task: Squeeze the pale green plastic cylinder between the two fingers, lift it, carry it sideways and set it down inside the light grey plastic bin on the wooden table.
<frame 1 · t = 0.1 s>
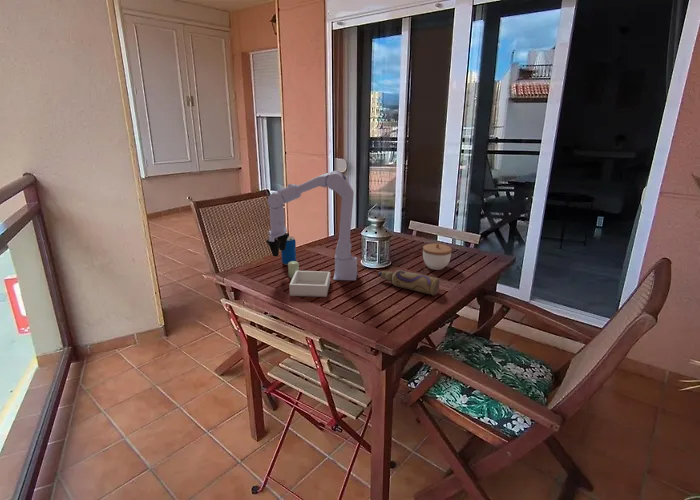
hand: (279, 253, 167), 10 cm above the table, tool pointing down, fingers open, 7 cm apart
bin: (310, 288, 157), on the table
lidded bowl: (435, 267, 181), on the table
green cylinder: (293, 276, 169), on the table
beverage can: (289, 263, 183), on the table
decorative bottle: (409, 287, 160), on the table
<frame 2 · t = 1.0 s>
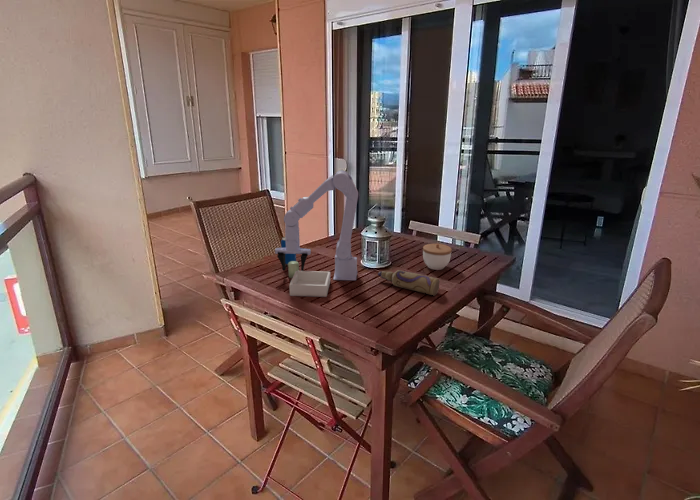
hand: (293, 269, 168), 3 cm above the table, tool pointing down, fingers open, 7 cm apart
nothing on the table moved.
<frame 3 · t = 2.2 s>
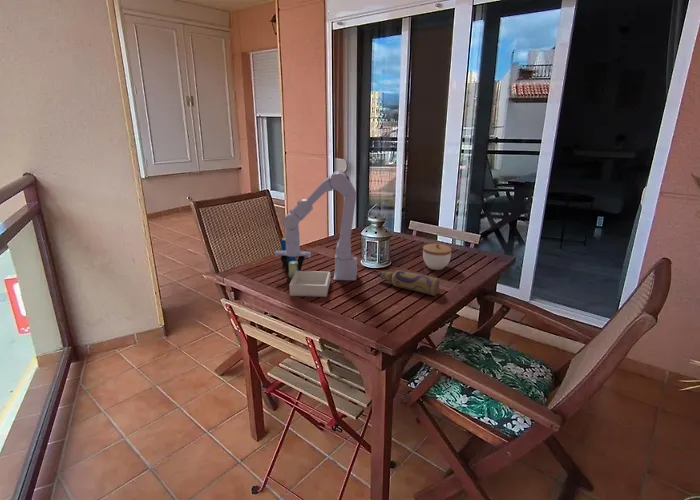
hand: (293, 272, 168), 2 cm above the table, tool pointing down, fingers closed on green cylinder, 4 cm apart
green cylinder: (293, 276, 169), on the table, touching gripper
everything else where it was.
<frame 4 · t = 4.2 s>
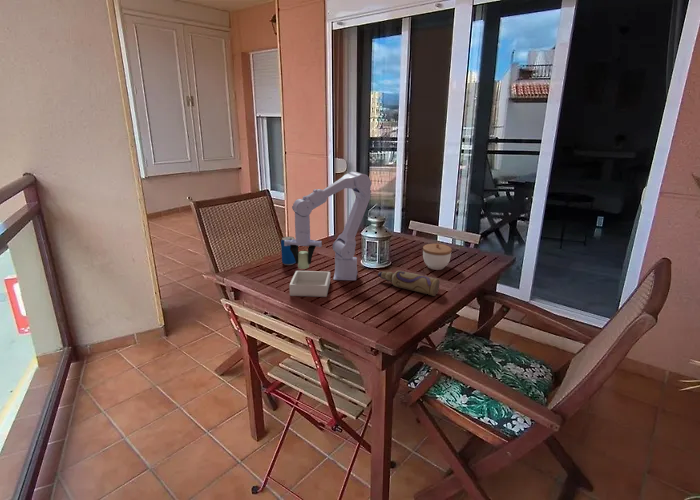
hand: (303, 263, 159), 9 cm above the table, tool pointing down, fingers closed on green cylinder, 4 cm apart
green cylinder: (303, 266, 159), point 7 cm above the table, touching gripper
everything else where it was.
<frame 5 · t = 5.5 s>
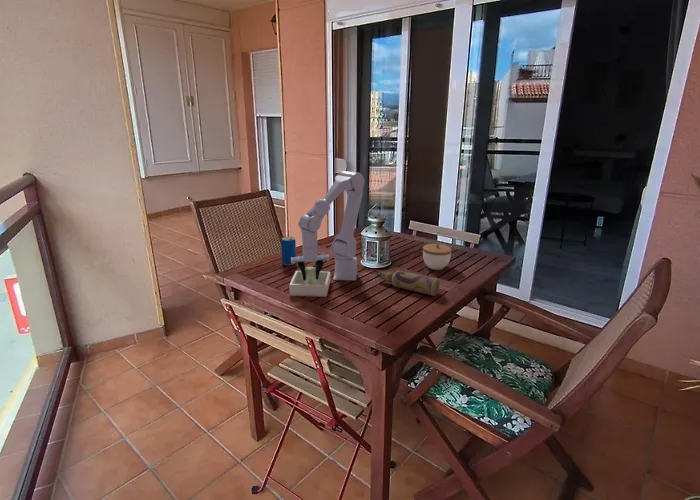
hand: (310, 279, 156), 4 cm above the table, tool pointing down, fingers closed on green cylinder, 4 cm apart
green cylinder: (310, 282, 156), point 2 cm above the table, touching gripper
everything else where it was.
when the fingers open (4 cm above the table, at t = 6.4 s): green cylinder drops 2 cm, resting on bin.
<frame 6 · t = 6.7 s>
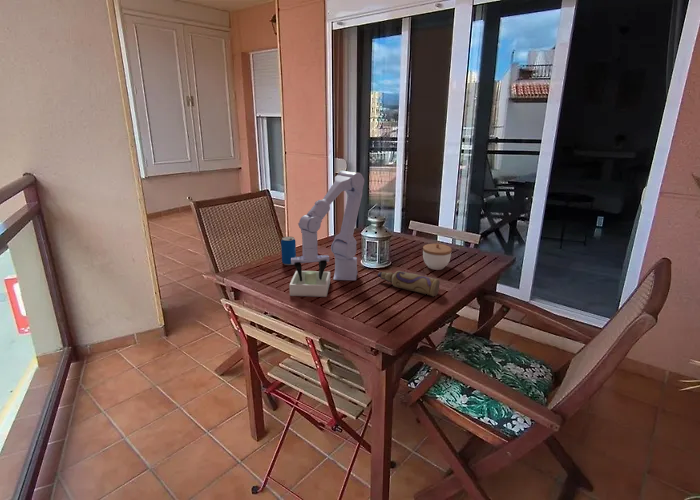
hand: (310, 279, 156), 4 cm above the table, tool pointing down, fingers open, 7 cm apart
green cylinder: (310, 287, 157), point 1 cm above the table, touching bin
everything else where it was.
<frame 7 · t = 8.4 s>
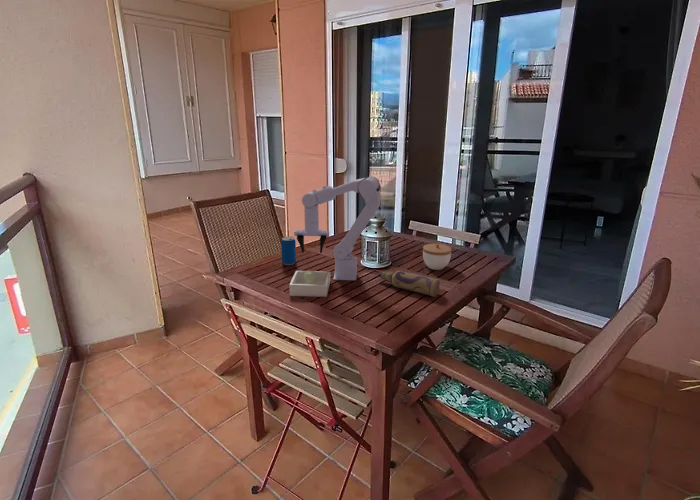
hand: (312, 252, 170), 9 cm above the table, tool pointing down, fingers open, 7 cm apart
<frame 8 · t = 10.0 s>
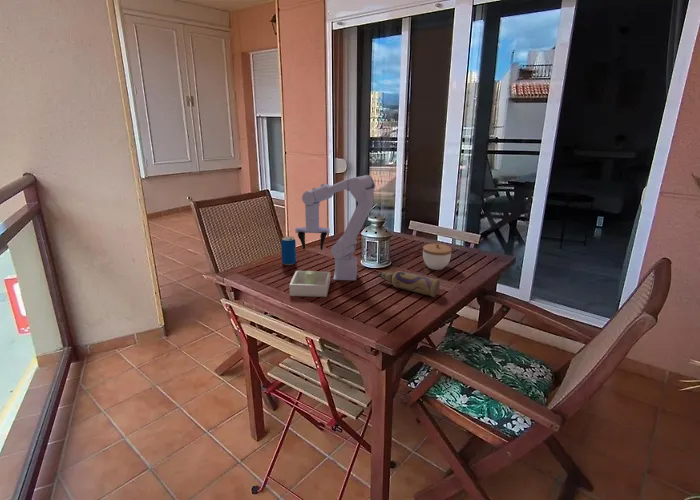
hand: (312, 248, 174), 9 cm above the table, tool pointing down, fingers open, 7 cm apart
at the end: green cylinder inside the target area on the bin (0.1 cm from its centre), point 0.7 cm above the bin's base; the gripper is holding nothing; green cylinder tilted 2° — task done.
